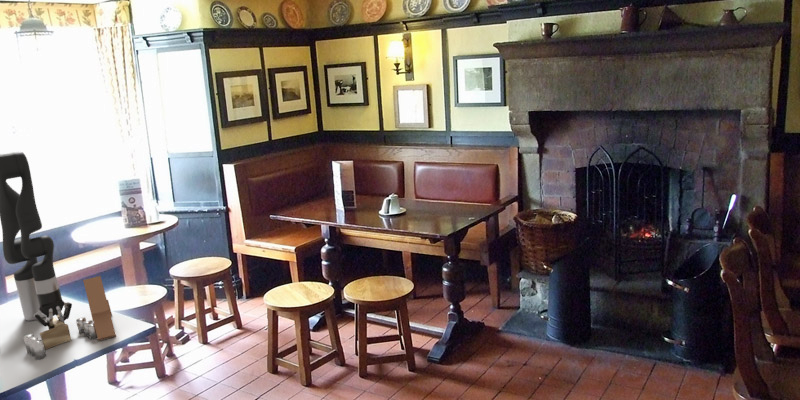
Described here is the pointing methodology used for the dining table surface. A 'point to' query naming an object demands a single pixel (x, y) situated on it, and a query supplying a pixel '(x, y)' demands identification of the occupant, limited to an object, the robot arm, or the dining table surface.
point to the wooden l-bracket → (56, 334)
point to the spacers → (37, 345)
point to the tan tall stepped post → (99, 308)
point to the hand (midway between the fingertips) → (58, 332)
